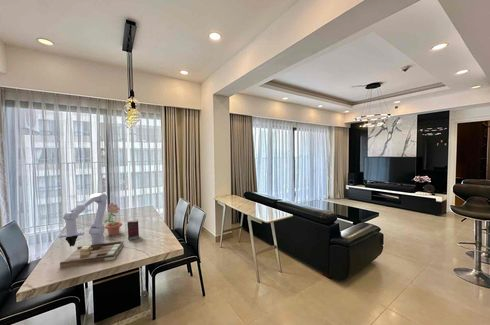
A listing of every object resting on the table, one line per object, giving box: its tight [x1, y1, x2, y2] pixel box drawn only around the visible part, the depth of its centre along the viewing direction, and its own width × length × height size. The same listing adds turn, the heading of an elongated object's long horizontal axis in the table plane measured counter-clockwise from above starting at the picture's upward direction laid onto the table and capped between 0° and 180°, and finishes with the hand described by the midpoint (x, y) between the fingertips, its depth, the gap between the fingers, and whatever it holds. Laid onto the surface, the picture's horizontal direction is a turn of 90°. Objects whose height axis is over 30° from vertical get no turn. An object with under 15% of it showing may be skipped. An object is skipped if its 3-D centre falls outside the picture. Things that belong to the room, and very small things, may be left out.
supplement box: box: [127, 219, 140, 241], centre depth 179 cm, size 9×5×16 cm, turn 120°
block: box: [80, 244, 92, 256], centre depth 148 cm, size 5×5×5 cm
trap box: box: [59, 240, 125, 268], centre depth 150 cm, size 24×32×4 cm
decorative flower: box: [104, 202, 123, 236], centre depth 188 cm, size 15×14×30 cm
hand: (72, 245), depth 145 cm, fingers closed
